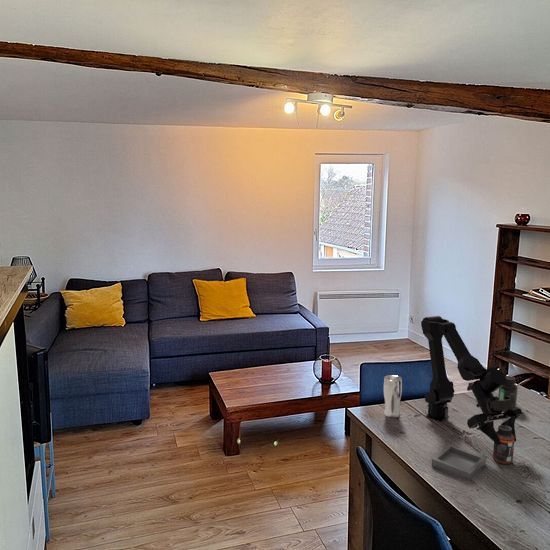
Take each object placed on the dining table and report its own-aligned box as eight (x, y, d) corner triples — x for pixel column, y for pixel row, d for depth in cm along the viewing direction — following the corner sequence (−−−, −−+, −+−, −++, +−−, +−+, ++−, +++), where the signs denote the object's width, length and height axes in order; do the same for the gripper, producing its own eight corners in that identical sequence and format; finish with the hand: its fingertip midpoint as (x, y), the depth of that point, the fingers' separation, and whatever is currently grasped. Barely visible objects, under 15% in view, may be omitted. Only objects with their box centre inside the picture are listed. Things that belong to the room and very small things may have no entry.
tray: (431, 466, 161) (431, 458, 161) (448, 451, 170) (449, 444, 170) (469, 481, 153) (470, 473, 152) (485, 465, 162) (486, 457, 161)
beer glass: (401, 411, 200) (403, 376, 198) (400, 419, 194) (401, 382, 191) (383, 409, 203) (385, 374, 200) (381, 416, 196) (382, 380, 194)
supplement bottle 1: (500, 408, 203) (502, 380, 201) (495, 401, 209) (497, 374, 207) (518, 409, 202) (520, 381, 200) (512, 402, 209) (515, 375, 206)
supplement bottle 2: (514, 465, 161) (517, 432, 159) (494, 463, 162) (497, 431, 160) (510, 456, 167) (512, 424, 165) (490, 454, 168) (493, 422, 166)
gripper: (475, 391, 161) (498, 439, 153) (521, 384, 167) (545, 430, 159) (457, 405, 170) (478, 451, 162) (501, 397, 176) (524, 441, 168)
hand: (507, 443), depth 162 cm, fingers closed on supplement bottle 2, 6 cm apart
